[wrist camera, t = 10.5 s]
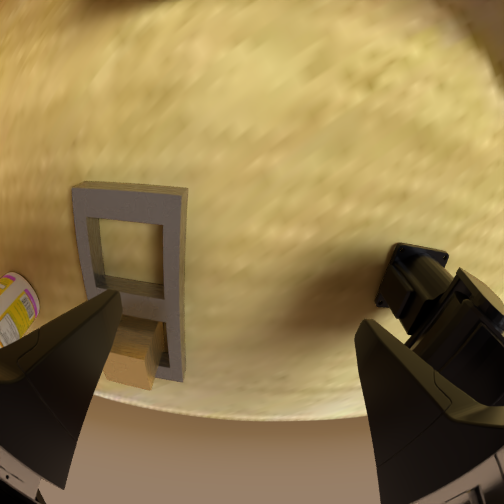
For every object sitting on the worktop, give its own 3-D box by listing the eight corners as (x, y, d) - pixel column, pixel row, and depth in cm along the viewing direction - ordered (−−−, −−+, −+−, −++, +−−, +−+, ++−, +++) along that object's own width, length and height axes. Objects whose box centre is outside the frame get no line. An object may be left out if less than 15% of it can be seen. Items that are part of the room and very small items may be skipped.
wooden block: (161, 313, 25) (143, 360, 19) (164, 345, 27) (150, 390, 22) (119, 305, 25) (95, 348, 19) (125, 337, 27) (107, 379, 21)
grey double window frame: (188, 188, 19) (181, 195, 18) (185, 368, 28) (182, 382, 27) (84, 181, 19) (71, 187, 17) (112, 353, 28) (107, 365, 26)
